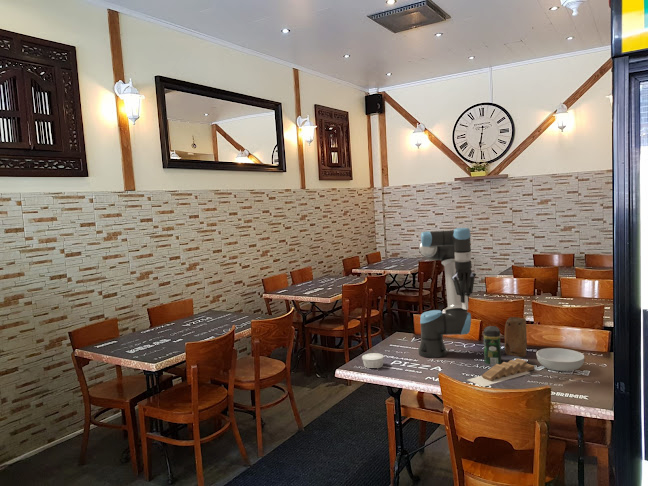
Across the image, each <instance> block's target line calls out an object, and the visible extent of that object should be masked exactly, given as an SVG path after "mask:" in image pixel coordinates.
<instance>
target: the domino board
mask: <svg viewBox="0 0 648 486" xmlns="http://www.w3.org/2000/svg"><path fill="white" fill-rule="evenodd" d="M530 374H531V372H530V371H526V372H523V373H517V372H516V373H515V374H514V375H511V374H509V375H508V376H507V377H504V376H502V377H501V378H500V379H497V378H495V379H493V380H492V381H489V380H486V379H484V378H483V377H482V375H480V376H476V377H472V378H468V379H467V381H468V382H471V383H474V384H476V385H478V386H481V387H483V388H484V387H487V386H490V385H491V386H492V385H493V384H496V383H497V384H498V383H501V382H504V381H508V380H511V379H515V378H518V377H522V376H525V375H530Z"/></svg>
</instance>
